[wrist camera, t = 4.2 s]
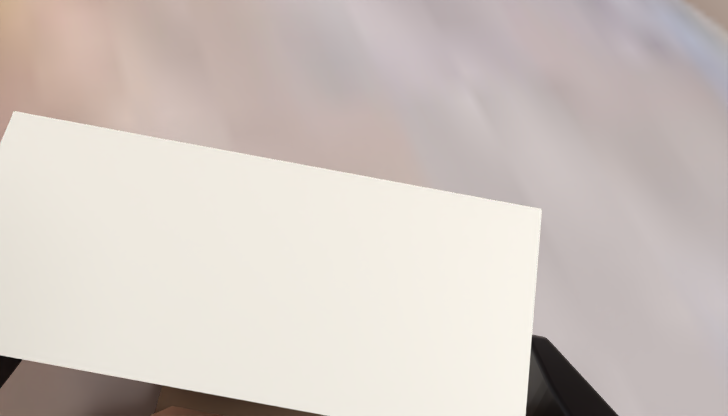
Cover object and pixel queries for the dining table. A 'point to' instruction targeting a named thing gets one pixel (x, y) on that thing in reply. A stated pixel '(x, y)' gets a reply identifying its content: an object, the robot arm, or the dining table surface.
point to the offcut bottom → (183, 412)
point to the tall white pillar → (261, 276)
